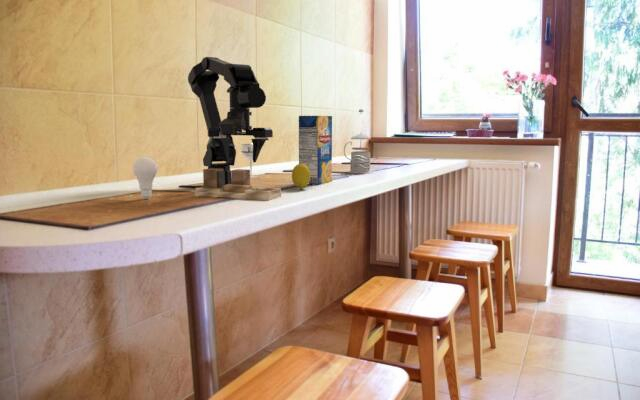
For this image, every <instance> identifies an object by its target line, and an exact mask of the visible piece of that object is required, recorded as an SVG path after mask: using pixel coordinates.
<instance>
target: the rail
mask: <svg viewBox="0 0 640 400" xmlns="http://www.w3.org/2000/svg"><path fill="white" fill-rule="evenodd" d="M202 172H203V173H202V175H203V182H202V183H203V186H199V187H195V192H194V197H199V196H213V197H212V198H217V197H231V198H230V199H235V200H236V199H240V200H254V201H255V200H257V201H258V200H259V201H271V200H274V199H277V198H281V197H282V189H281V188H278V187H276V188H275V187H254V188H253V187H252V184H250V185H232V184H228V185H225V171H224V170H223V169H218V168H209V169H208V168H203V169H202Z"/></svg>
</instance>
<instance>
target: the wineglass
mask: <svg viewBox="0 0 640 400" xmlns="http://www.w3.org/2000/svg"><path fill="white" fill-rule="evenodd" d="M241 146H242V147H241V149H240V150H241V154H242V155H243V156H244V157H245V158H247V159H248V160H249V170H250V179H256V178H258V176H256V175H253V174H252V173H253V172H252V171H253V169H252V167H253V143H241Z"/></svg>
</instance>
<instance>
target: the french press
mask: <svg viewBox="0 0 640 400" xmlns="http://www.w3.org/2000/svg"><path fill="white" fill-rule="evenodd" d="M358 113H360V114H362V113H364V109H363V108H360V109H359V110H358ZM371 139H372V137H371V136H369V135H367V134H364V133H359V134H355V135H352V136H351V137H350V140H371ZM349 143H350V146H352V144H353V143H352V141H348V142H346V143H345V145H344V147H343V154H344V157H345V158H346V159H348V160H349V161H350V170H349V171H348V174H364V175H365V174H372V173H373V171H372V170H371V151H367V150H370V147H362V141H360V145H359V146H358V147H352V148H351V150H355V151H351V153H350V158H348V157H347V156H346V151H345V148H346V146H347V145H348V144H349ZM356 150H357V151H356Z"/></svg>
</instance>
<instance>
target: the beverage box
mask: <svg viewBox="0 0 640 400" xmlns="http://www.w3.org/2000/svg"><path fill="white" fill-rule="evenodd" d="M332 158H333V116H332V115H298V164H299V163H303V164H304V165H306V166H307V167H308V168H309V171H310V181H309V184H308V185H311V184H312V185H314V186H315V185H316V186H318V185H323V184H327V183H332V181H333V177H332V176H333V174H332V173H333V171H332V169H333V168H332V167H333V166H332V165H333V159H332Z"/></svg>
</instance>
